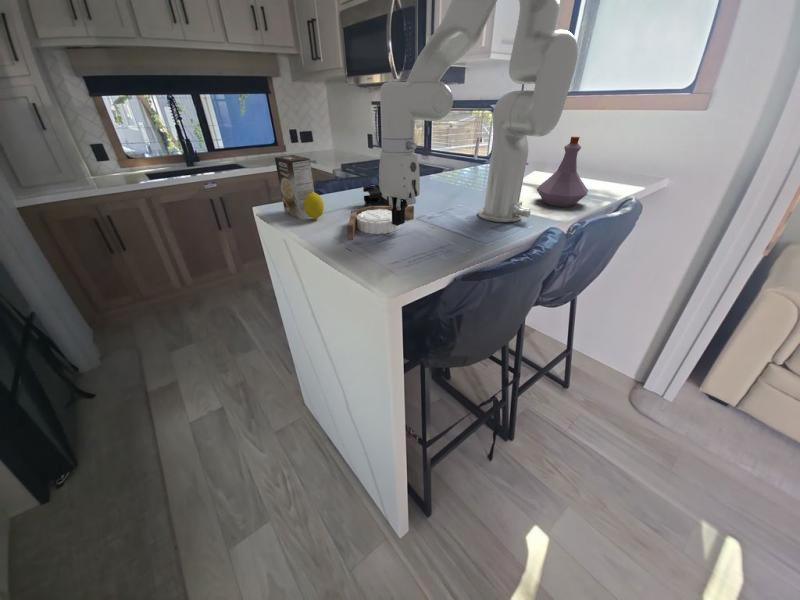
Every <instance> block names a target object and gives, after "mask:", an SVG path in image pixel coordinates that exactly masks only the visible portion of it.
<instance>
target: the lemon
mask: <svg viewBox="0 0 800 600" xmlns="http://www.w3.org/2000/svg"><path fill="white" fill-rule="evenodd" d="M304 209H305V212H306V214H307V215H308V216H310V218H311V219H314V220H318V219H319V218H320V217H321V216H322V215H323V213H324V212H325V205H324V200H323V199H322V197H321V196H320V195H319V194H318V193H316V192H315V191H314V192H310V193H309V194H307V195H306V196H305V198H304Z"/></svg>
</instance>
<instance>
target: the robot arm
mask: <svg viewBox="0 0 800 600" xmlns="http://www.w3.org/2000/svg"><path fill="white" fill-rule="evenodd" d="M497 2H498V0H451V1H450V3H449V5H448V7H447V10H446V12H445V15H444V17H443V19H442V20H441V22H440V24H439V25H438V27H437V28H436V29H435V31H434V32H433V34H432V35H431V36H430V38H429V39H428V41H427V43H426V44H425V45H424V47H423V49H421V52H420V53H419V55H418V57H417V58H416V60H415V62H414V63H413V66H412V68H411V71H410V72H409V73H410V74H409V75H408V77H407V80H406V81H388V82H384V83H383V84H382V85H381V86H380V89H379V91H380V93H379V96H380V97H379V100H380V101H379V102H380V126H381V127H380V131H381V151H380V157H379V165H378V166H379V168H378V183H379V188H380V192H381V193H382V197H383V198H385V199H386V200H387V201H388V202H389V206H390V208H391V209H392V224H393V225H396V226H398V225H400V226H401V225H404V224H405V221H406V219H405V209H406V208H407V206H413V205H415V204H417V201H416V200H417V199H416V197H418V196H420V194H421V193H420V191H421V187H420V186H421V185H420V184H421V182H420V181H421V177H420V165H419V158H418V154H417V153H415V150H416V149H417V146H418V145H417V143H416V142H415V131H416V130H415V129H416V126H415V125H416V123H415V122H416V120H423V121H428V122H437V121H440V120H442V119H444V118H446V117H447V116H448V115H449V113H450V112H451V110H452V109H453V104H454V96H453V93H452V90H451V89H450V87H449V86H448V85H447V84H445V83H444V82H441V79H442V78H443V76H444V75H445V73H446V72H447V71H448V70H449V69H450V68H451V67H452V66H453V65H454V64H455V63H456V62H458V61H459V60H460V59H461V58H463V57H464V56H465V55H467V54H468V53H469V52H470V51H471V50H472V49H473V48H474V47H475V46H476V45H477V43H478V42H479V39H480V38H481V36H482V33H483V31H484V29H485V27H486V25H487V22H488V20H489V18H490V16H491V13H493V9H494V8H495V6H496V3H497ZM518 2H519V15H518V20H517V25H516V30H515V36H514V40H513V45H512V49H511V54H510V60H509V65H508V75H509V78H510V79H511V81H512V82H514V83H515V84H517V85H518V84H519V85H534V88H533V90H530V89H529V90H527V89H526V90H514V91H509V92H507V93H504V94H503V95H502V96H501V97H500V98H499V99H498V100H497V102H496V103H495V106H494V109H493V111H492V112H493V113H492V146H491V157H490V162H489V163H490V164H489V170H488V177H487V185H486V192H485V193H486V194H485V200H484V206H483V207H481V208H480V209H479V210H478V212H477V213H478V214H477V215H478V216H479V218H480V219H483V220H486V221H489V222H490V221H491V222H495V223H515V222H517V221H520V220H521V219H522V217H524V218H529V217H531V209H530V208H527V207H524V206H522V205H523V202H522V201H520V198H521V195H522V194H521V193H522V188H523V183H524V176H525V173H526V166H527V163H528V162H527V161H528V156H529V142H528V137H544V136H547V135H548V134H550V133H552V131H553V130H555V128H556V126H557V125H558V123H559V121H560V118H561V116H562V113H563V111H564V108H565V104H566V100H567V97H568V95H569V90H570V88H571V87H570V86H571V83H572V80H573V78H574V73H575V69H576V65H577V61H578V54H579V53H578V52H579V50H578V43H577V40H576V37H575V36H574V35H573V33H572V32H570V31H568V30H565V29H557V30H556V27H557V23H558V18H559V14H560V8H561V7H560V5H561V0H518Z"/></svg>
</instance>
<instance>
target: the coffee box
mask: <svg viewBox="0 0 800 600" xmlns="http://www.w3.org/2000/svg"><path fill="white" fill-rule="evenodd" d="M274 162H275V166H276V172H277V179H278V183H279V188H280V194H281V198H282V203H283V204H282V205H283V210H284V213H285V214H287V215H290V216H292V217H294V218H297V219H299V220H301V219H305V218H309V217H310V216H308V215H307V214H306V212H305V209H304V198H305V196H306V195H307V194H309V193H310V192H314V193H315V187H314V180H313V179H314V178H313V172H312V166H311V159H310V157H309V158H308V157H305V156H300V155H296V154H289V155H282V156H281V155H280V156H276V157H274ZM310 218H311V217H310Z"/></svg>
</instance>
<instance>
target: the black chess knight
mask: <svg viewBox="0 0 800 600" xmlns="http://www.w3.org/2000/svg"><path fill="white" fill-rule="evenodd" d="M362 189H363V192H364V193H368V194H369V195H363V201H364V206H365V207H368V206H389V202H388V201H387V200H386V199H385V198H383V197H382V193H381V192H380V188H379V182H375V183H374V185H373V184H372V185H364V186H362Z"/></svg>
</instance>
